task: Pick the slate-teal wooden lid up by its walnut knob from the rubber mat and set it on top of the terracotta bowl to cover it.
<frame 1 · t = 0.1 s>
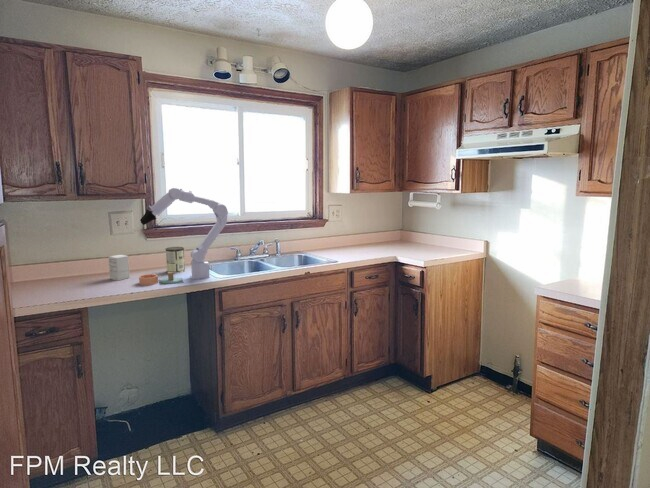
hand: (141, 222, 221), 32 cm above the counter, tool tilted 50°, fingers open, 7 cm apart
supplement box: (119, 278, 234), on the counter
coffee can: (175, 271, 253), on the counter
lid: (171, 281, 227), resting on mat
mat: (171, 282, 227), on the counter
bowl: (148, 283, 224), on the counter
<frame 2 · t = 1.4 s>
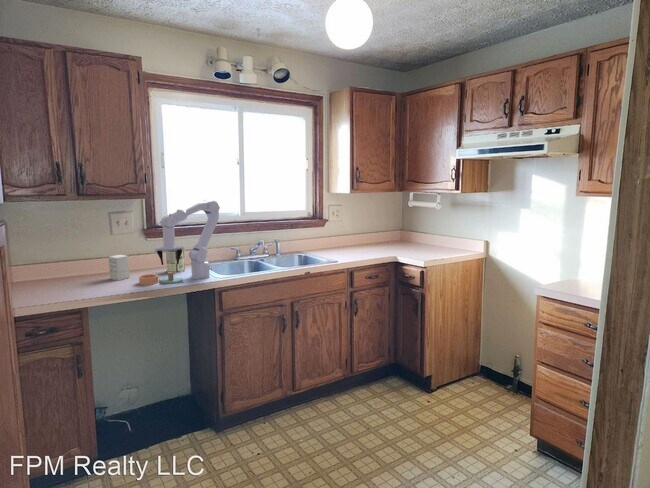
hand: (170, 264, 226), 10 cm above the counter, tool pointing down, fingers open, 7 cm apart
nothing on the counter moved.
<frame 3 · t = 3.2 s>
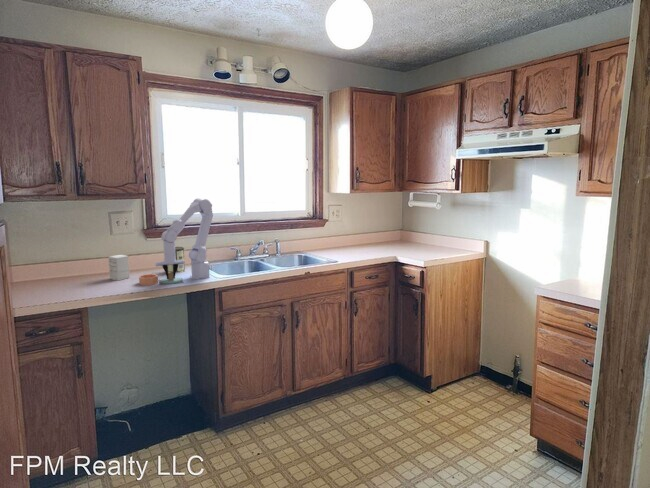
hand: (170, 278, 227), 2 cm above the counter, tool pointing down, fingers closed on lid, 2 cm apart
lid: (171, 281, 227), resting on mat, touching gripper
everything else where it was.
when the fingers open (7 cm above the counter, at t = 6.2 s): lid stays where it is, resting on bowl.
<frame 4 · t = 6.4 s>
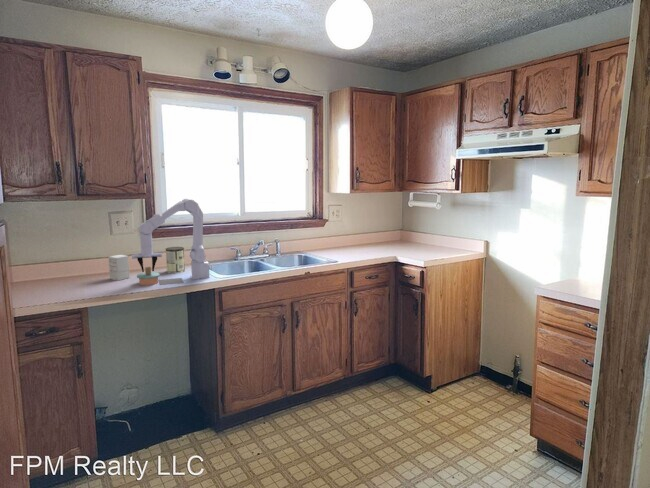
hand: (148, 271, 222), 7 cm above the counter, tool pointing down, fingers open, 4 cm apart
lid: (148, 276, 223), point 4 cm above the counter, touching bowl
everything else where it was.
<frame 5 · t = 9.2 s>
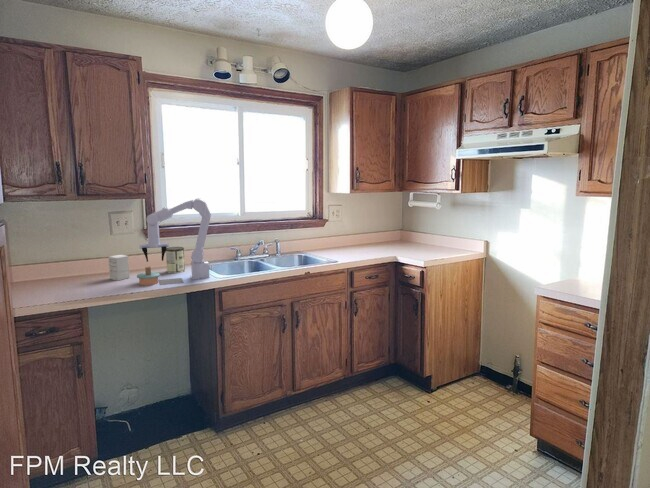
hand: (155, 260, 231), 10 cm above the counter, tool pointing down, fingers open, 7 cm apart
nothing on the counter moved.
at the end: lid 0.0 cm off-centre on the bowl, point 4.0 cm above the bowl's base; lid tilted 0°; the gripper is holding nothing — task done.
